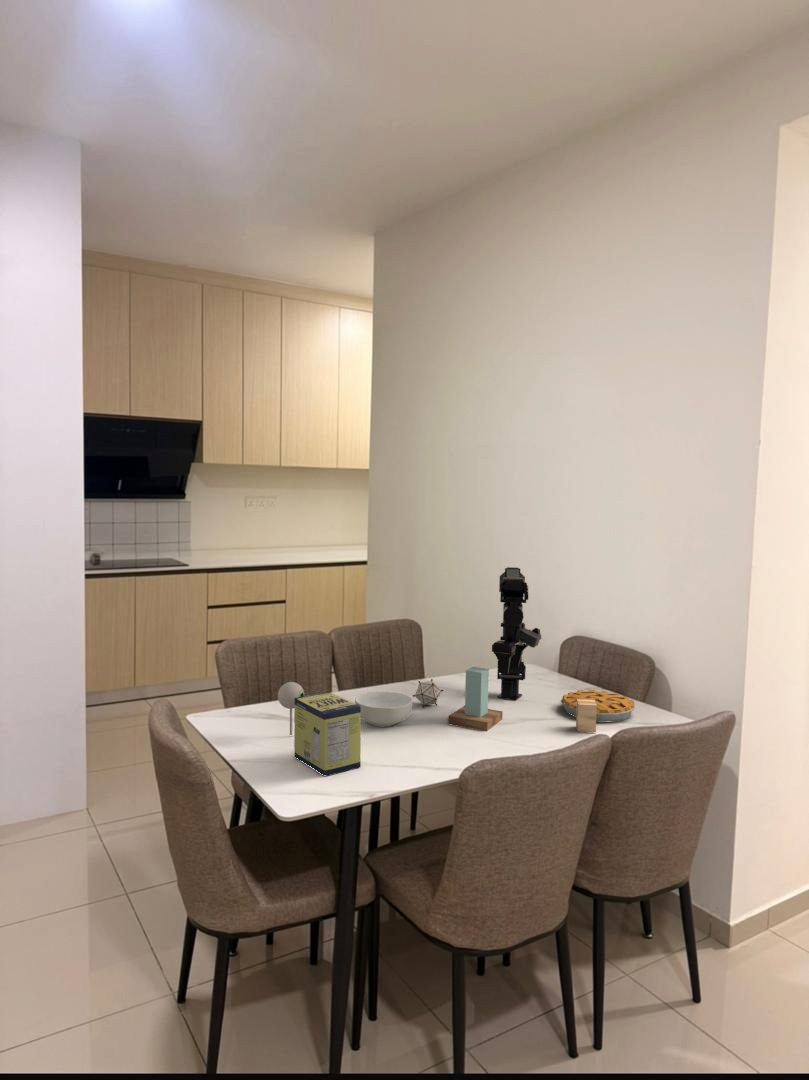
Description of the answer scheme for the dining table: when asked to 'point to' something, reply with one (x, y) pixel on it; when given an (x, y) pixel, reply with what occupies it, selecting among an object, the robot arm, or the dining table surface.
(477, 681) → the teal block
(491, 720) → the walnut slab
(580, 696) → the pie
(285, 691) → the lollipop
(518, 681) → the robot arm
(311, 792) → the dining table surface
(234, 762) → the dining table surface
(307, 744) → the protein box
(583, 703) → the oak block
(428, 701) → the wireframe polyhedron model
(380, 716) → the cereal bowl
